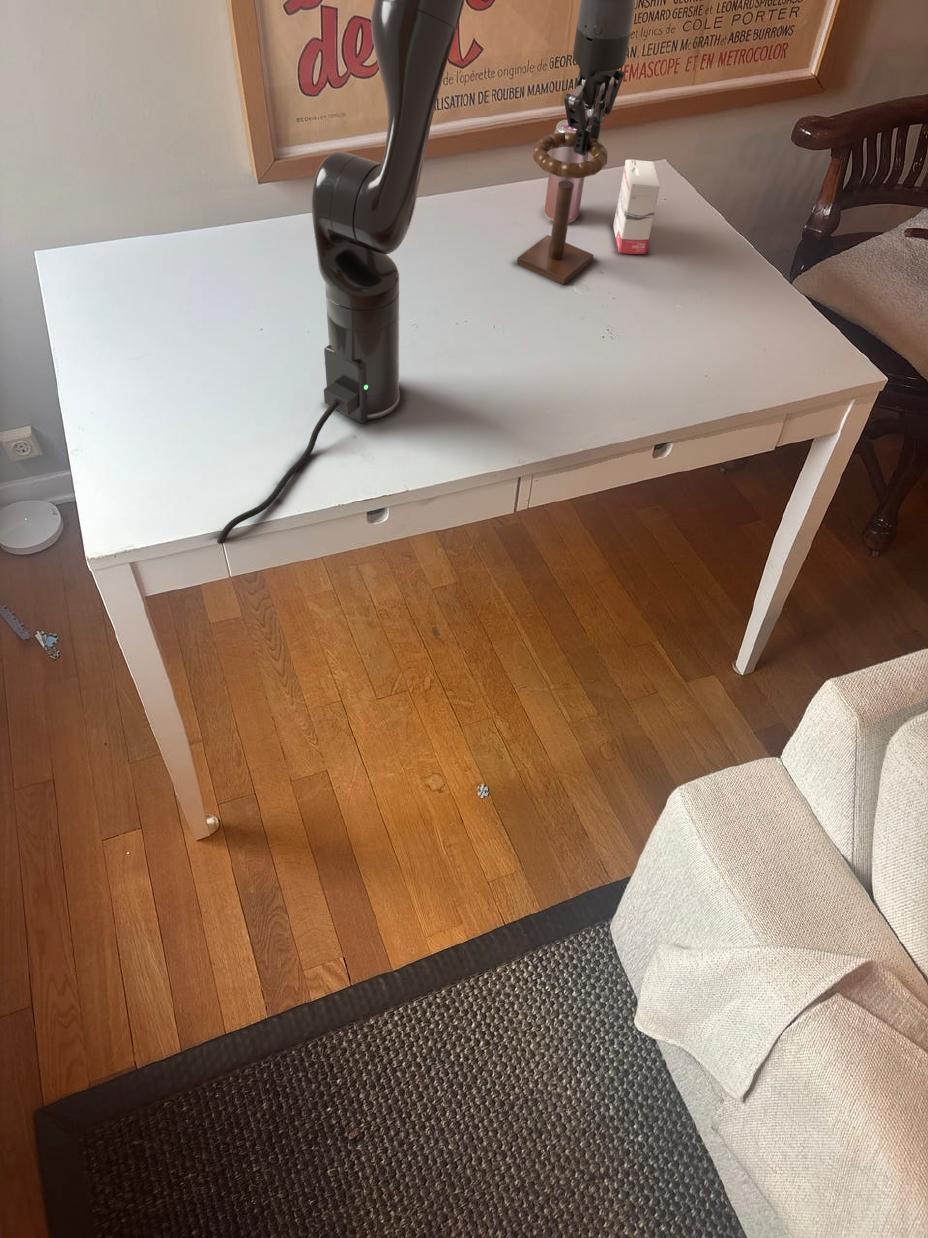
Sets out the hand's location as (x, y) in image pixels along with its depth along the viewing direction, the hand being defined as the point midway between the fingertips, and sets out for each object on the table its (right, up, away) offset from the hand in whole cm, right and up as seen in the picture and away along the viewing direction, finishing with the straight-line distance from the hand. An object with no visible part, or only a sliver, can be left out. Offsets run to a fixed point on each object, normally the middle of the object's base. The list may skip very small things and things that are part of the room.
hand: (585, 149), depth 146 cm
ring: (-3, -2, -3) cm, 4 cm away
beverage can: (-2, -2, +20) cm, 20 cm away
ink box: (+9, -8, +16) cm, 20 cm away
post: (-4, -13, +11) cm, 17 cm away
